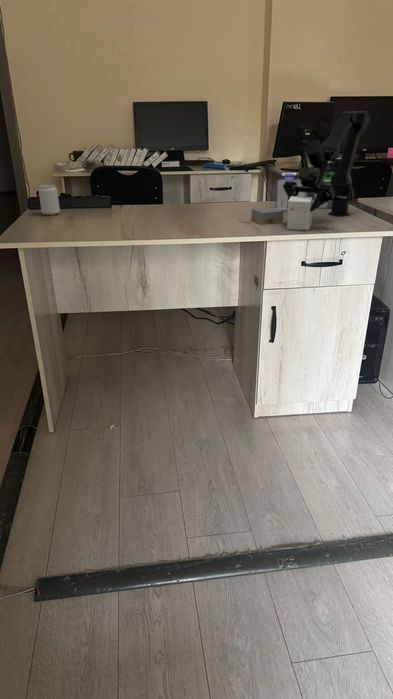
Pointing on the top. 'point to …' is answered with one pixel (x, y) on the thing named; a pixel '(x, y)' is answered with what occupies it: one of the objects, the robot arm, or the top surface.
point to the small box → (299, 213)
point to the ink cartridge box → (281, 193)
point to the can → (49, 199)
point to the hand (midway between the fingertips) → (299, 209)
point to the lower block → (266, 220)
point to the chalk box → (326, 181)
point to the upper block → (267, 213)
